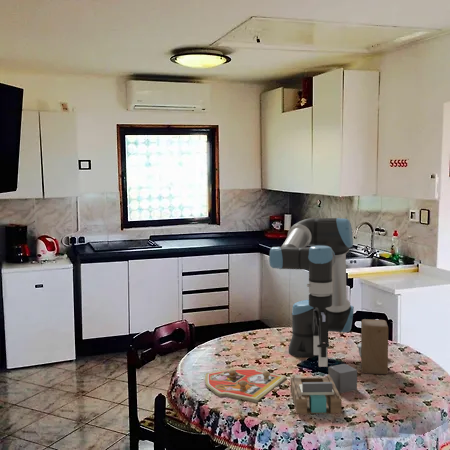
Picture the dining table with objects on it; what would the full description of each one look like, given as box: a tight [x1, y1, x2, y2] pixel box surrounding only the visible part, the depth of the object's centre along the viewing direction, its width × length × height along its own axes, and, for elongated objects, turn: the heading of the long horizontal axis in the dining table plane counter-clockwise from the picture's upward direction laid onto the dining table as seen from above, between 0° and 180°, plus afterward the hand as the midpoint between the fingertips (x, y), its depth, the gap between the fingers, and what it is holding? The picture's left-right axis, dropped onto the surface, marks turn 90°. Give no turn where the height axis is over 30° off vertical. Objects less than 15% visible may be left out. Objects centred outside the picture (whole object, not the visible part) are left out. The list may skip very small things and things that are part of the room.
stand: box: [327, 363, 358, 394], centre depth 206 cm, size 8×8×8 cm
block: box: [309, 395, 327, 414], centre depth 188 cm, size 5×5×5 cm
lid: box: [299, 382, 334, 395], centre depth 191 cm, size 7×11×4 cm, turn 89°
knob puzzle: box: [204, 367, 287, 404], centre depth 214 cm, size 29×30×4 cm
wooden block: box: [360, 318, 389, 375], centre depth 224 cm, size 10×10×20 cm
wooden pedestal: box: [290, 374, 342, 415], centre depth 195 cm, size 19×15×6 cm
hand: (320, 360), depth 181 cm, fingers open, 10 cm apart
